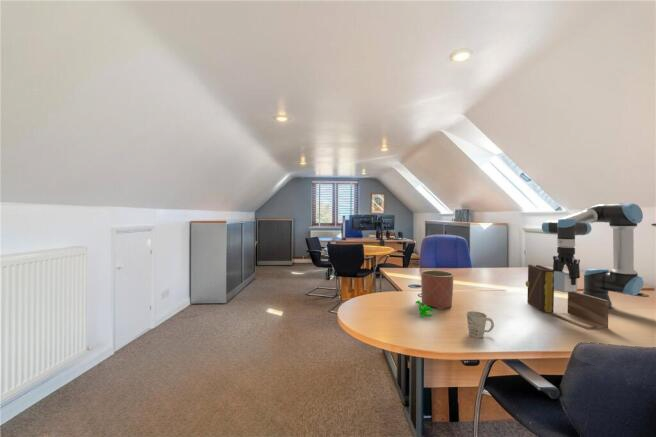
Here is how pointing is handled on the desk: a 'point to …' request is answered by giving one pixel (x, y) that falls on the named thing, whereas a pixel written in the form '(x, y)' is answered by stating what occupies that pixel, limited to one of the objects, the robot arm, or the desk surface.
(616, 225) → the robot arm
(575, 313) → the wooden bookend
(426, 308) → the figurine
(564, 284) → the white block
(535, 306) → the book
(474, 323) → the mug
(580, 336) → the desk surface
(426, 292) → the planter
